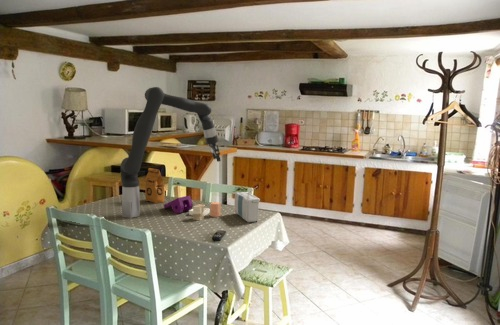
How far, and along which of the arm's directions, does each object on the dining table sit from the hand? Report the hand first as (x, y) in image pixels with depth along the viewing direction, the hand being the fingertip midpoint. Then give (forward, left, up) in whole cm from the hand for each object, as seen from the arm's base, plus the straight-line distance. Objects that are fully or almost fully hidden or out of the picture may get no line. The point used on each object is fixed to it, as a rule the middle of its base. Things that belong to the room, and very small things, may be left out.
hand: (217, 160), depth 246 cm
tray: (-23, +1, -29) cm, 37 cm away
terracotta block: (-23, -9, -29) cm, 38 cm away
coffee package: (-7, +42, -30) cm, 52 cm away
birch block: (-33, -3, -29) cm, 44 cm away
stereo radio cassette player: (-20, -27, -30) cm, 45 cm away
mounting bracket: (-20, +18, -30) cm, 40 cm away
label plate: (-7, +9, -29) cm, 31 cm away
